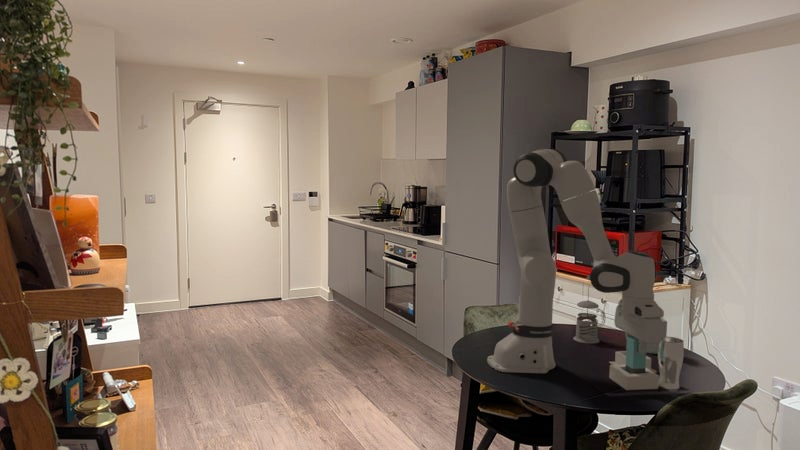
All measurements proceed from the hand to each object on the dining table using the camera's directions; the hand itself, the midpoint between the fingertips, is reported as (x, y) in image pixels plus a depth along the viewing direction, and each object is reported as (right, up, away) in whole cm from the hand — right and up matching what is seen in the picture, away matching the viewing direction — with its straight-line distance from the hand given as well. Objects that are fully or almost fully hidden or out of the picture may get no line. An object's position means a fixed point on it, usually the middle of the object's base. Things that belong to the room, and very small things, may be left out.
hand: (635, 350), depth 168 cm
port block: (0, -11, +1) cm, 11 cm away
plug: (0, -7, +1) cm, 7 cm away
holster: (+6, -10, +16) cm, 20 cm away
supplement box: (+20, -9, +34) cm, 41 cm away
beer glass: (+10, -12, 0) cm, 15 cm away
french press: (+2, -7, +49) cm, 49 cm away
